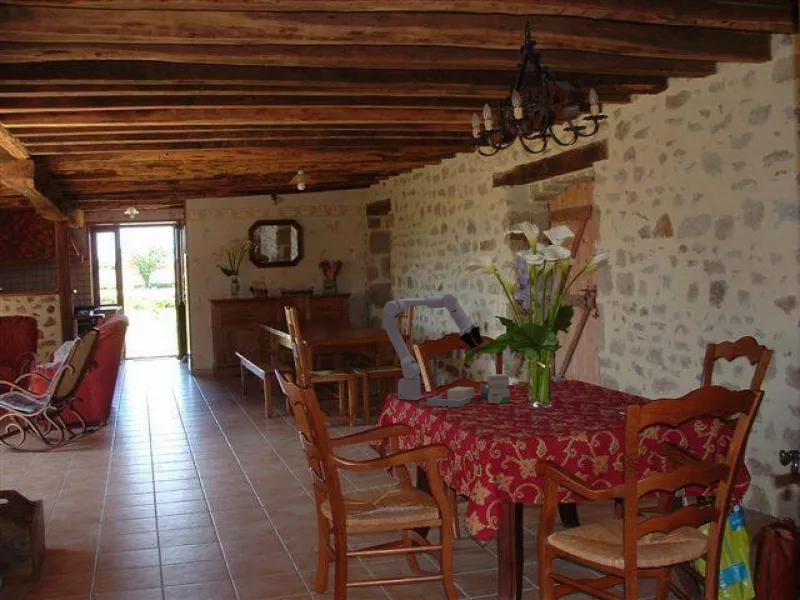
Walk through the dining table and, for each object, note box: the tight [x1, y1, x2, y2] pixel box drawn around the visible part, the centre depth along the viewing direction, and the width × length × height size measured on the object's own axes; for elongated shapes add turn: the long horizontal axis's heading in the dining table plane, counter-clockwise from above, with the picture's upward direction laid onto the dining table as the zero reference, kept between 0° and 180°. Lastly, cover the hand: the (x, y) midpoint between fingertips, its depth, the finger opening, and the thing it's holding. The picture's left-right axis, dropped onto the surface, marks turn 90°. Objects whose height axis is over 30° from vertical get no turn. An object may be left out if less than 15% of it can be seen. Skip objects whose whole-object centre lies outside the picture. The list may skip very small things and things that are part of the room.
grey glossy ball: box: [479, 383, 488, 400], centre depth 381 cm, size 6×6×6 cm
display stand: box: [426, 394, 471, 408], centre depth 369 cm, size 14×12×3 cm
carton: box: [446, 386, 475, 400], centre depth 380 cm, size 8×10×5 cm
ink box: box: [486, 373, 511, 404], centre depth 370 cm, size 9×5×12 cm, turn 94°
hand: (477, 345), depth 377 cm, fingers open, 7 cm apart
